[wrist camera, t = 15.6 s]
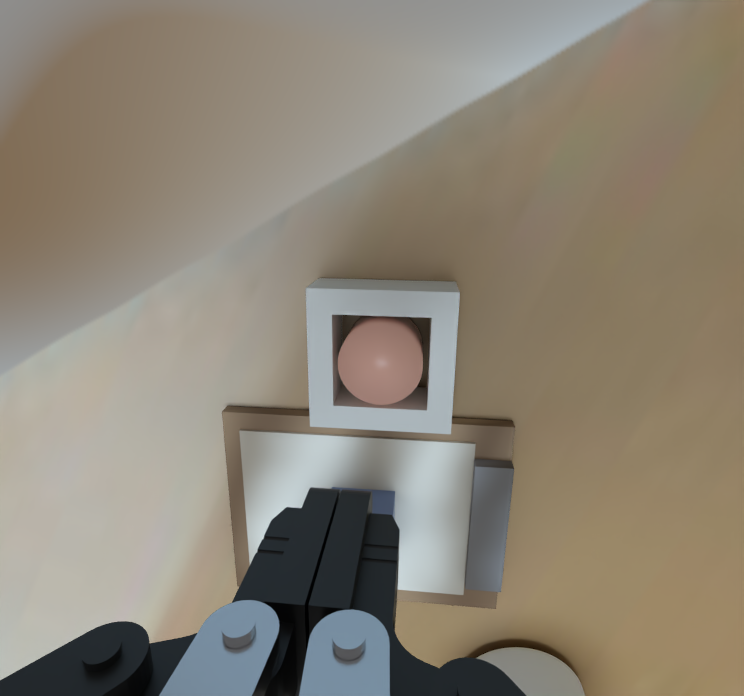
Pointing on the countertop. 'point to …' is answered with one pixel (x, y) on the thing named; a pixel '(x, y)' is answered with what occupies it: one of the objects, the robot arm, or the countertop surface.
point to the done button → (381, 359)
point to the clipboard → (384, 472)
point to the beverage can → (535, 671)
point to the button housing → (381, 298)
